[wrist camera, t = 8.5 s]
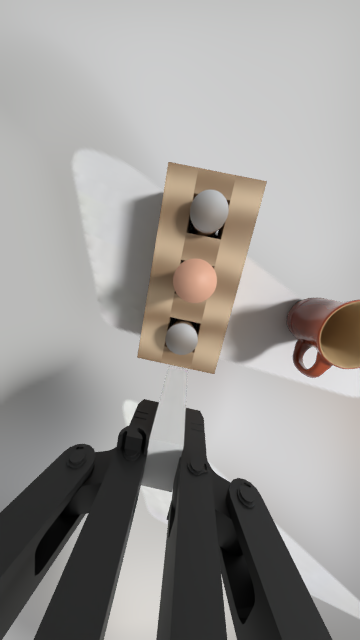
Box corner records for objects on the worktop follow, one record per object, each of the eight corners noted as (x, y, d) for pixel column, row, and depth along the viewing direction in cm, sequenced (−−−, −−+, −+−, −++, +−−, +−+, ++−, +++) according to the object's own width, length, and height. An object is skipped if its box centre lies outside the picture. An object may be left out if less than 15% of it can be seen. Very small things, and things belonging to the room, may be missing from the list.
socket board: (174, 189, 29) (168, 161, 22) (249, 204, 29) (266, 181, 22) (147, 341, 35) (137, 357, 28) (209, 355, 35) (214, 374, 28)
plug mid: (182, 261, 27) (177, 254, 18) (212, 267, 27) (221, 263, 18) (176, 291, 28) (169, 298, 19) (205, 297, 28) (211, 307, 19)
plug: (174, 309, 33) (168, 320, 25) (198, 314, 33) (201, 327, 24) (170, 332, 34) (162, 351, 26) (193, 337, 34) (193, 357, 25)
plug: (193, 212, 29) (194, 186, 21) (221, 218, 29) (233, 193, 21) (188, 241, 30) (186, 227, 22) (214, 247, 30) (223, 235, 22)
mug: (301, 282, 31) (353, 285, 21) (343, 309, 32) (413, 324, 22) (258, 340, 34) (286, 367, 24) (297, 364, 34) (341, 399, 24)
